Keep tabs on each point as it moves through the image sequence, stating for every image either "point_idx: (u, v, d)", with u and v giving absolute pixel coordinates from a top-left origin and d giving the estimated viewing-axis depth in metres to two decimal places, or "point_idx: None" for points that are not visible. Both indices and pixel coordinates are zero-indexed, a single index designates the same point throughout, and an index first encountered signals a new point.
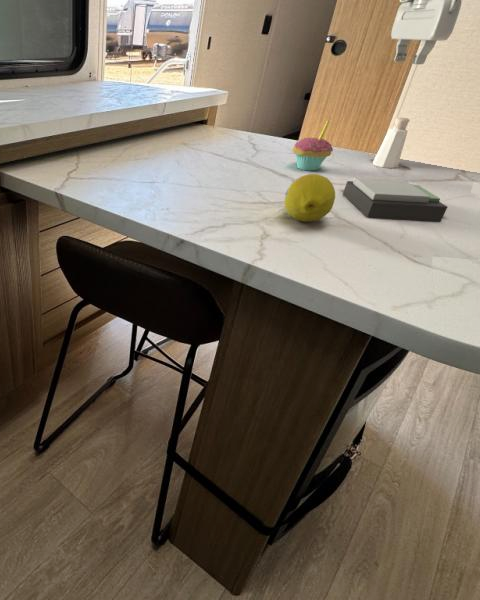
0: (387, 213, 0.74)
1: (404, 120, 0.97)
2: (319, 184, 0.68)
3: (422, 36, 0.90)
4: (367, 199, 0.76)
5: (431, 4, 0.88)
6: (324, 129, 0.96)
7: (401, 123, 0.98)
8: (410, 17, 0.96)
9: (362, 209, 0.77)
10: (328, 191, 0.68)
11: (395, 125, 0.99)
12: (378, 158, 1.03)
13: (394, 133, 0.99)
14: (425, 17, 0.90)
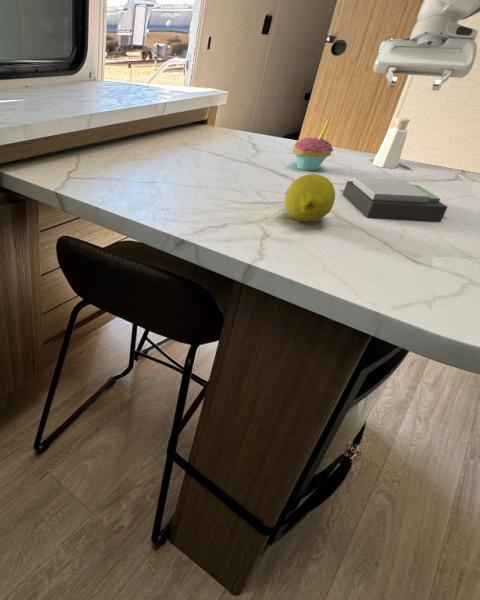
0: (387, 213, 0.74)
1: (404, 120, 0.97)
2: (319, 184, 0.68)
3: None
4: (367, 199, 0.76)
5: None
6: (324, 129, 0.96)
7: (401, 123, 0.98)
8: None
9: (362, 209, 0.77)
10: (328, 191, 0.68)
11: (395, 125, 0.99)
12: (378, 158, 1.03)
13: (394, 133, 0.99)
14: None
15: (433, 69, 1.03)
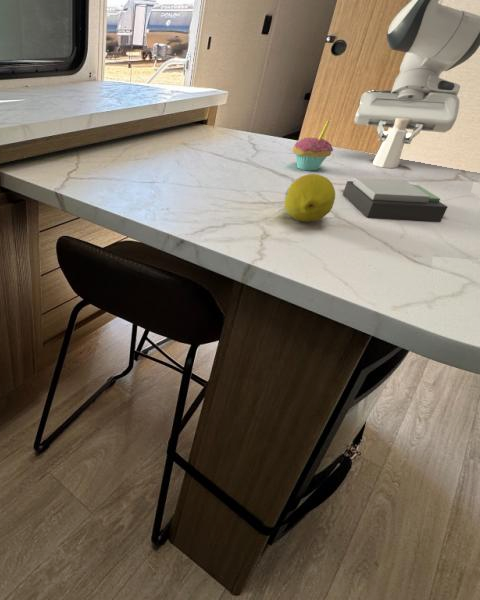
0: (387, 213, 0.74)
1: (404, 120, 0.97)
2: (319, 184, 0.68)
3: None
4: (367, 199, 0.76)
5: None
6: (324, 129, 0.96)
7: (401, 123, 0.98)
8: None
9: (362, 209, 0.77)
10: (328, 191, 0.68)
11: (395, 125, 0.99)
12: (378, 158, 1.03)
13: (394, 133, 0.99)
14: None
15: (415, 123, 1.00)
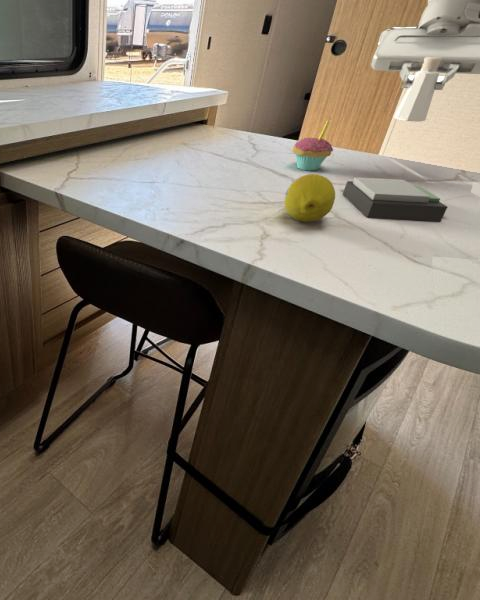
0: (387, 213, 0.74)
1: (436, 58, 0.78)
2: (319, 184, 0.68)
3: None
4: (367, 199, 0.76)
5: None
6: (324, 129, 0.96)
7: (432, 63, 0.78)
8: None
9: (362, 209, 0.77)
10: (328, 191, 0.68)
11: (424, 66, 0.79)
12: (401, 110, 0.83)
13: (423, 76, 0.79)
14: None
15: (448, 64, 0.80)
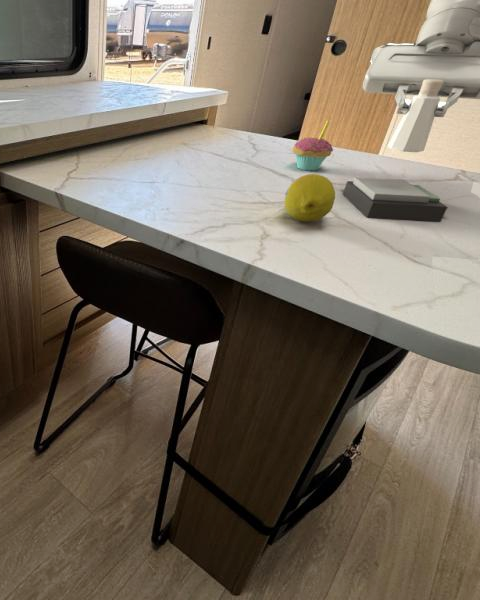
0: (387, 213, 0.74)
1: (436, 82, 0.67)
2: (319, 184, 0.68)
3: None
4: (367, 199, 0.76)
5: None
6: (324, 129, 0.96)
7: (432, 86, 0.68)
8: None
9: (362, 209, 0.77)
10: (328, 191, 0.68)
11: (422, 90, 0.69)
12: (397, 138, 0.73)
13: (421, 101, 0.69)
14: None
15: (451, 87, 0.70)
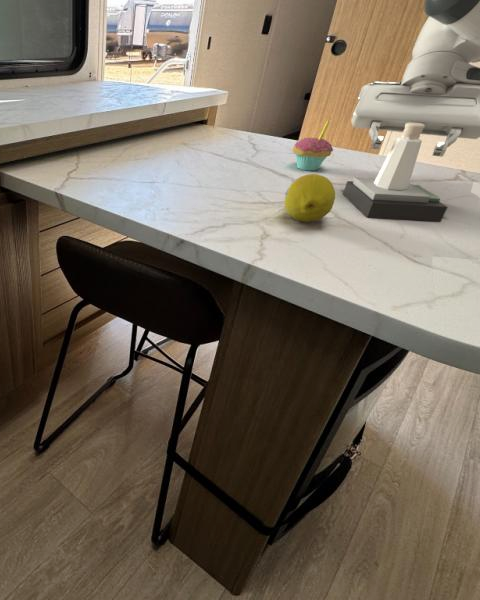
0: (387, 213, 0.74)
1: (417, 126, 0.71)
2: (319, 184, 0.68)
3: None
4: (367, 199, 0.76)
5: None
6: (324, 129, 0.96)
7: (413, 130, 0.71)
8: None
9: (362, 209, 0.77)
10: (328, 191, 0.68)
11: (405, 133, 0.73)
12: (381, 177, 0.77)
13: (404, 144, 0.73)
14: None
15: (434, 126, 0.73)
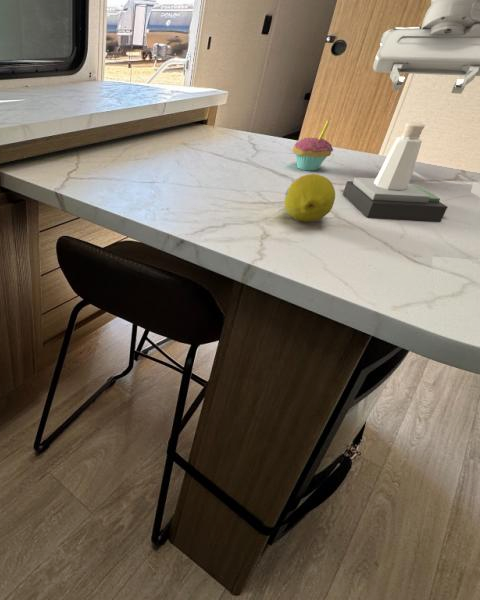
0: (387, 213, 0.74)
1: (417, 126, 0.71)
2: (319, 184, 0.68)
3: None
4: (367, 199, 0.76)
5: None
6: (324, 129, 0.96)
7: (413, 130, 0.71)
8: None
9: (362, 209, 0.77)
10: (328, 191, 0.68)
11: (405, 133, 0.73)
12: (381, 177, 0.77)
13: (404, 144, 0.73)
14: None
15: (453, 65, 0.77)
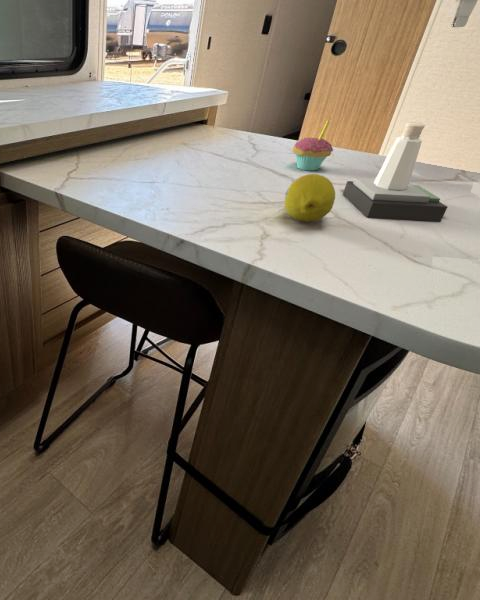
0: (387, 213, 0.74)
1: (417, 126, 0.71)
2: (319, 184, 0.68)
3: None
4: (367, 199, 0.76)
5: None
6: (324, 129, 0.96)
7: (413, 130, 0.71)
8: None
9: (362, 209, 0.77)
10: (328, 191, 0.68)
11: (405, 133, 0.73)
12: (381, 177, 0.77)
13: (404, 144, 0.73)
14: None
15: None
